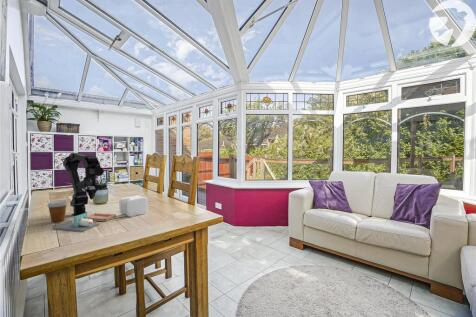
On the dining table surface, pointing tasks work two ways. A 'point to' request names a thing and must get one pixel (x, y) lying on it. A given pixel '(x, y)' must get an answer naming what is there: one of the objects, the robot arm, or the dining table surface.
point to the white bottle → (84, 222)
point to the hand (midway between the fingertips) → (91, 199)
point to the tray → (101, 217)
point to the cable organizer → (133, 205)
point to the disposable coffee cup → (57, 210)
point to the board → (70, 227)
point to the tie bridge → (84, 216)
